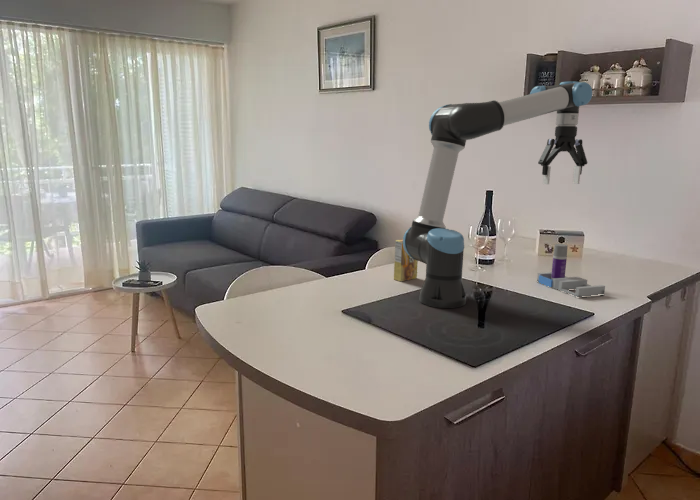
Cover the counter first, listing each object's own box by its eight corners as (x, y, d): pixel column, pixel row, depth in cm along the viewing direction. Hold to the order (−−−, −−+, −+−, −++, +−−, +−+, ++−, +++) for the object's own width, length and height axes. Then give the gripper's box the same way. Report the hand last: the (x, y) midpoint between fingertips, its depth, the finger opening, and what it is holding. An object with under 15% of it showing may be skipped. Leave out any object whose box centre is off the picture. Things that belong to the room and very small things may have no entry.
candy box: (409, 276, 208) (411, 237, 205) (417, 278, 205) (419, 239, 202) (393, 279, 202) (394, 240, 199) (401, 282, 199) (402, 241, 196)
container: (561, 286, 196) (565, 246, 193) (548, 284, 199) (552, 245, 196) (565, 284, 199) (569, 245, 196) (552, 282, 202) (556, 243, 199)
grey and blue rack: (576, 298, 181) (577, 288, 181) (535, 282, 202) (536, 273, 201) (604, 295, 185) (605, 286, 184) (561, 280, 205) (561, 271, 205)
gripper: (544, 124, 189) (539, 184, 193) (601, 126, 196) (595, 184, 201) (531, 125, 196) (526, 183, 200) (586, 126, 203) (581, 182, 208)
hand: (561, 183), depth 200 cm, fingers open, 13 cm apart
